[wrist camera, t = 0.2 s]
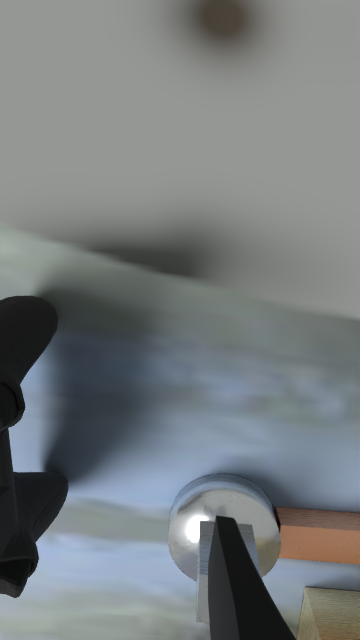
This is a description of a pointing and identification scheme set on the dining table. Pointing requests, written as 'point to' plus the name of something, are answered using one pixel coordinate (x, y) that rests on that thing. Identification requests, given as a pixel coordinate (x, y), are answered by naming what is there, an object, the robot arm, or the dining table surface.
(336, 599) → the brushed gold cube
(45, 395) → the dining table surface
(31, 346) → the gaming controller
